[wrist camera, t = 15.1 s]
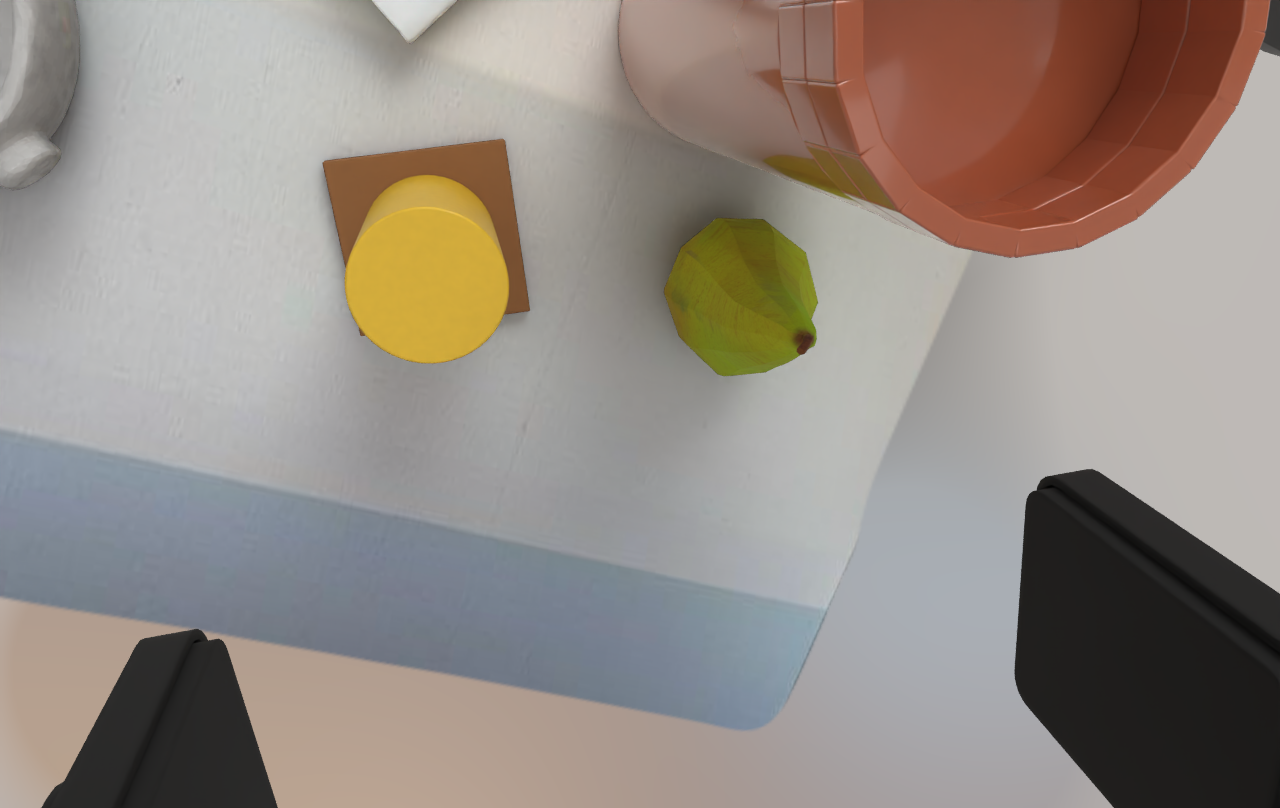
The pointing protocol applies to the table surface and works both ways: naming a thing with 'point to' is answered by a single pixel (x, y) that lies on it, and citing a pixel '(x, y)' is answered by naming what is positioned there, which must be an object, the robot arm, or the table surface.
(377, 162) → the mat
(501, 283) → the yellow cylinder
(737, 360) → the fruit
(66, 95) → the dish
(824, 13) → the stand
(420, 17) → the hard drive
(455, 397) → the table surface
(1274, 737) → the robot arm
